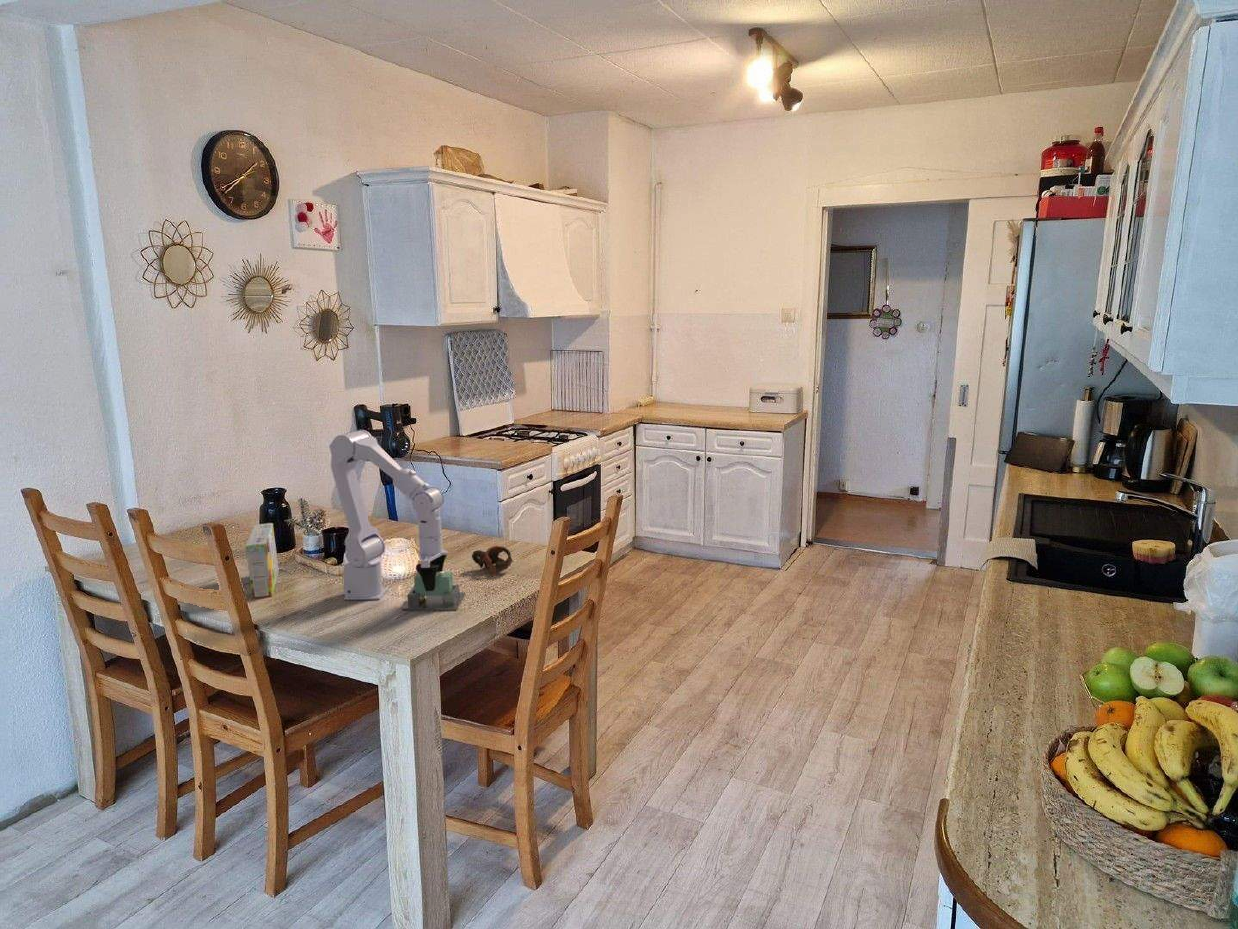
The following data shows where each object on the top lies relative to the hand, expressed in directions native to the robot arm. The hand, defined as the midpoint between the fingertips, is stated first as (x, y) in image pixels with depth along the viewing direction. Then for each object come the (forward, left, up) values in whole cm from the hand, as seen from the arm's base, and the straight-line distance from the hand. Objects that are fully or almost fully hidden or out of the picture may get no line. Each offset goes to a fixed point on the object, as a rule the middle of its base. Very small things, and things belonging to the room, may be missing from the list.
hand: (433, 585), depth 209 cm
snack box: (-51, +15, -5) cm, 53 cm away
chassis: (0, 0, -5) cm, 5 cm away
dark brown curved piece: (+11, +25, -5) cm, 28 cm away
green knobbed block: (0, 0, -2) cm, 2 cm away
